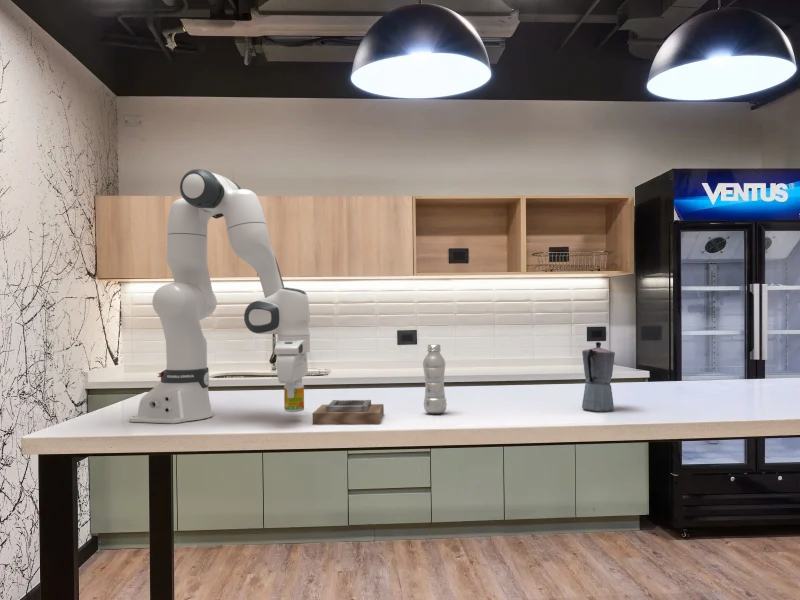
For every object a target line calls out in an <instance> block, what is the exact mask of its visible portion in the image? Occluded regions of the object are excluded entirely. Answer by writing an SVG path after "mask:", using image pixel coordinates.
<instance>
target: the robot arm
mask: <svg viewBox="0 0 800 600" xmlns="http://www.w3.org/2000/svg"><path fill="white" fill-rule="evenodd" d="M179 192H180V194H181V198H177V199H176V200H174V201H173V202H172V204H171V206H170V209H169V214H168V221H167V228H166V229H167V232H166V234H167V235H166V263H167V265H168V267H169V269H170V271H171V274H172V278H173V282H170V283H167V284H165V285H162V286H160V287H159V288H158V289H156V291H155V292H154V293H153V297H152V300H151V301H152V308H153V309H154V311H155V313H156V314H157V316H158V317H159V319H160V320H159V321H160V322H161V326H162V329H163V334H164V335H163V336H164V339H165V346H166V349H165V350H166V353H165V354H166V368H165V370H163V371H161V372H158V373H157V378H160V382H159V383H158V384H157V385H155V387H153V388H152V389H150V390H149V391H148V392H147V393H146V394H144V395H142V397H141V399H140V401H139V404H138V409H137V410H138V411H137V413H135V414H133V415H131V416H130V417H129V422H131V423H133V422H134V423H156V424H157V423H158V424H159V423H160V424H178V423H184V422H190V421H197V420H198V421H199V420H204V419H208V418H210V417H213V416H214V413H213V409H212V405H211V401H210V395H209V385H210V384H209V383H210V372H209V367H208V345H207V344H208V342H207V339H206V338H205V336H204V334H203V330H202V328H201V326H202V325H201V323H200V321H202V320H204V319H206V318H207V317H209V316H211V315H212V314H213V313H214V312H215V310H216V308H217V303H218V302H217V296H216V294H215V293H214V291H213V287H212V282H211V278H210V277H211V276H210V272H209V265H208V224H209V221H210V219H211V218H214V219H219V218H220V219H221V218H222V217H224V221H225V226H226V230H227V231H226V232H227V237H228V240H229V244H230V246H231V249H232V251H233V253H234V254H235V255H236V256H237V257H238V258H239V259H241V260H243V261H244V262H245V263H247V264H248V265H250V267H252V268H253V269H254V271H255V272H256V274H257V275H258V278H259V282H260V285H261V288H262V292H263V293H262V294H263V296H264V298H262V299H257V300H255V301H252V302H251V303H249V304H248V305H247V307H246V308H245V310H244V315H243V321H244V324H245V327H246V328H247V329H248V330H249V331H250V332H252V333H254V334H258V335H274V334H275V335H277V341H276V344H275V347H274V355H276V373H277V379H278V382H279V384H286V389H287V397H288V398H293V397H295V391H294V381H296V380H298V379H299V378H300V375H301V381H300V382H301V383H303V382H302V381H303V377H306V376H307V375H308V371H309V370H308V367H309V366H308V365H309V363H308V353H309V352H311V350H310V349H311V345H310V344H311V343H310V342H311V341H310V340H311V338H310V337H311V336H310V335H311V334H310V330H309V323H310V319H311V318H310V302H309V296H308V294H307V293H306V291H304V290H302V289H298V288H293V287H285V285H284V281H283V277H282V274H281V271H280V267H279V264H278V261H277V258H276V255H275V252H274V249H273V246H272V243H271V238H270V234H269V231H268V225H267V220H266V215H265V213H264V210H263V207H262V204H261V201H260V200H259V197H258V195H257V194H256V193H255V192H253V191H252V190H251V189H244V188H241V187H240V186H239V184H238V183H237V182H235V181H233V180H231V179H229V178H227V177H226V176H224V175H221V174H218V173H214V172H212V171H209V170H206V169H202V168H201V169H200V168H198V169H191V170H189V171H187V172H185V174H184V175H183V177H182V178H181V180H180V183H179Z"/></svg>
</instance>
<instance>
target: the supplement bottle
mask: <svg viewBox="0 0 800 600" xmlns="http://www.w3.org/2000/svg"><path fill="white" fill-rule="evenodd" d="M300 381H301V375H300V378H299V379H298V380H296V381H294V391H295V397H293V398H288V397H287V389H286V383H284V386H283V391H284V392H283V393H284V394H283V395H284V396H283V397H284V399H283V402H284V404H283V405H284V406H283V407H284V411H285V412H289V413H298V412H299V413H300V412H302V411H304V410H305V385H304V383H303V382H302V383H301V382H300Z"/></svg>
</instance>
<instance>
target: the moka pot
mask: <svg viewBox="0 0 800 600" xmlns="http://www.w3.org/2000/svg"><path fill="white" fill-rule="evenodd" d="M601 345H602V343H601V342H600V341H597V342H595V347H592V348H587V349H584V350H582V353H581V354H582V363H583V372H584V377H585V384H584V390H583V391H584V392H583V397H582V403H581V408H582V409H583V410H587V411H593V412H612V411H614V410H615V406H614V405H615V404H614V398H613V390H612V389H613V388H612V385H611V383H612V377H613V371H614V365H615V364H614V363H615V357H616V356H615V355H616V352H614V351H612V350H608V349H606V348H602V347H601Z"/></svg>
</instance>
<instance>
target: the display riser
mask: <svg viewBox="0 0 800 600" xmlns="http://www.w3.org/2000/svg"><path fill="white" fill-rule="evenodd" d="M384 406H385V405H384V403H372V400H371V399H332V400H331V402H330V403H329V404H321V405H320V406H319V407H318V408H317V409H316V410H314V411H313V412H312V425H380V424H381V422H382V420H381V419H383V418H384V415H385V414H384V413H385V411H384ZM380 421H381V422H380Z"/></svg>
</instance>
